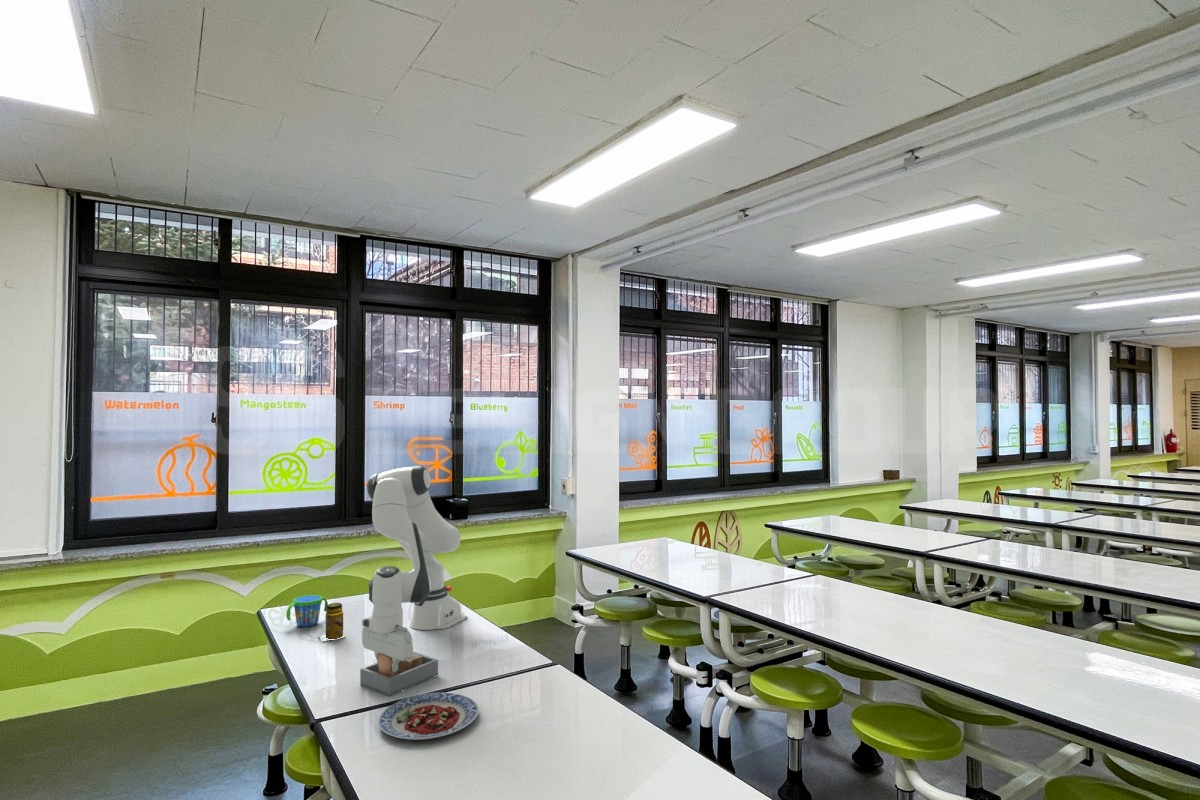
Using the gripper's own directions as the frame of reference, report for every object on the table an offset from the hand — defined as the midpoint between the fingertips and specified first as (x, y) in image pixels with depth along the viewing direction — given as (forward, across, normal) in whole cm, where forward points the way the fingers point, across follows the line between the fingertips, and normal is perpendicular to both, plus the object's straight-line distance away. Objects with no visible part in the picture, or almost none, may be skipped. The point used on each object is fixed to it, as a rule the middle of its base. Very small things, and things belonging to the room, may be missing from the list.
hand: (387, 668), depth 194 cm
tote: (+5, 0, -4) cm, 7 cm away
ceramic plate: (+6, -28, +8) cm, 30 cm away
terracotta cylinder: (+3, 0, 0) cm, 3 cm away
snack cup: (+5, +73, -18) cm, 75 cm away
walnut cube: (+4, 0, -8) cm, 9 cm away
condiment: (+6, +52, -14) cm, 54 cm away
